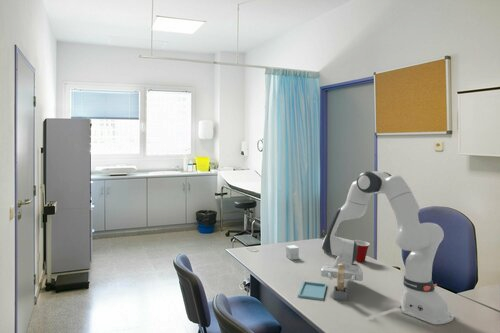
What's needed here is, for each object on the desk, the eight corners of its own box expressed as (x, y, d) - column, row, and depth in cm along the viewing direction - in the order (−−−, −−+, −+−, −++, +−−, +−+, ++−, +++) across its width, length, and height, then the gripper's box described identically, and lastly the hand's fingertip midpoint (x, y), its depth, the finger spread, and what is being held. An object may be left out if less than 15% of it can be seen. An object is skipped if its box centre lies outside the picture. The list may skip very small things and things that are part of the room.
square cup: (346, 297, 187) (347, 287, 187) (346, 302, 181) (346, 292, 181) (334, 296, 189) (334, 286, 188) (333, 301, 183) (333, 290, 183)
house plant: (339, 258, 246) (340, 233, 244) (317, 256, 249) (318, 231, 247) (339, 251, 260) (340, 227, 258) (318, 249, 263) (319, 226, 261)
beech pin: (345, 297, 184) (346, 265, 183) (340, 299, 183) (341, 266, 181) (340, 295, 187) (341, 263, 186) (335, 296, 186) (336, 264, 184)
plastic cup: (370, 264, 235) (370, 245, 233) (351, 263, 237) (352, 243, 236) (368, 258, 245) (369, 240, 244) (350, 257, 247) (351, 239, 246)
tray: (303, 284, 202) (303, 281, 202) (326, 287, 199) (326, 283, 199) (297, 299, 185) (297, 295, 185) (323, 302, 182) (323, 298, 181)
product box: (298, 258, 244) (299, 247, 243) (290, 259, 242) (290, 248, 241) (294, 255, 250) (294, 244, 249) (285, 256, 247) (286, 245, 247)
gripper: (322, 261, 200) (319, 270, 187) (363, 265, 194) (363, 274, 181) (321, 273, 201) (318, 282, 188) (362, 277, 195) (362, 287, 182)
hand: (340, 279), depth 184 cm, fingers open, 8 cm apart
